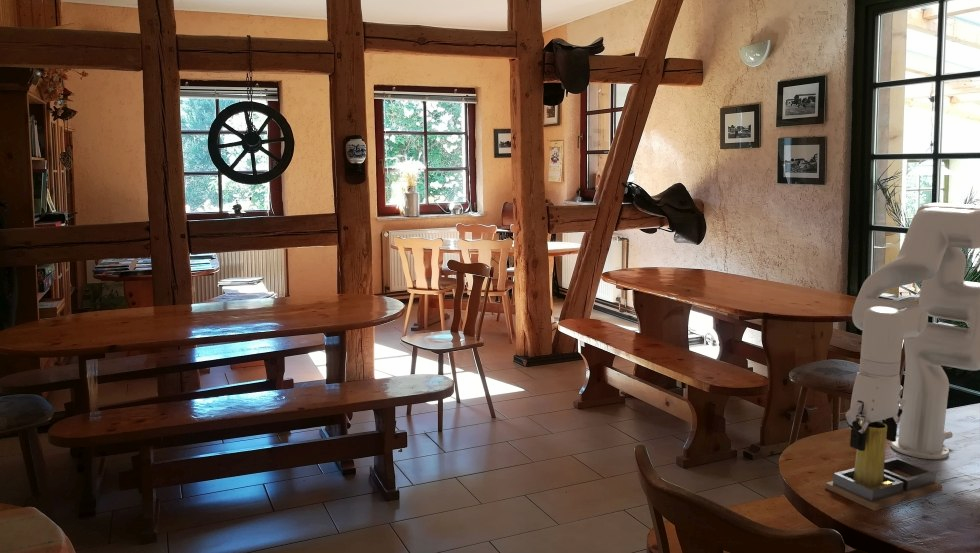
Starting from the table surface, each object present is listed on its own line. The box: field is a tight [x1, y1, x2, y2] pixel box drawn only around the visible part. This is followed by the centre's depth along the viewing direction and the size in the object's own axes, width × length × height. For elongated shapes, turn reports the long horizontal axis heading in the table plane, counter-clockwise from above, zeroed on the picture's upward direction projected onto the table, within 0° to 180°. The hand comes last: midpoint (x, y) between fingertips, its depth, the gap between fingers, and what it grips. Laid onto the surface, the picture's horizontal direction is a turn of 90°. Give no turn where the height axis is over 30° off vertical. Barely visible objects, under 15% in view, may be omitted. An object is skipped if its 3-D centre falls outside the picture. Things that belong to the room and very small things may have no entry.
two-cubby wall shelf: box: [832, 456, 937, 502], centre depth 174 cm, size 21×10×3 cm, turn 118°
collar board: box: [825, 470, 943, 512], centre depth 174 cm, size 22×12×1 cm, turn 118°
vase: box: [853, 421, 887, 488], centre depth 171 cm, size 6×6×14 cm
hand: (872, 444), depth 171 cm, fingers open, 9 cm apart
